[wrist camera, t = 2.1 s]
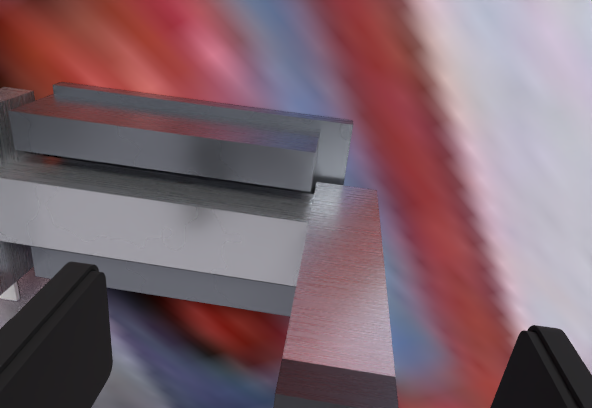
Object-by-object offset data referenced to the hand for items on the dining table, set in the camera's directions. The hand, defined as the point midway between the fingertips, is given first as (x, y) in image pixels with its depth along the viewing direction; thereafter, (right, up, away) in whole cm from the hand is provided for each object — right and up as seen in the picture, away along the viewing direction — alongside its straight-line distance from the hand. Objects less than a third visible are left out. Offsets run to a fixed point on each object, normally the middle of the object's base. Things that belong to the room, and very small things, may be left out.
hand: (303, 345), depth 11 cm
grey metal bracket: (-4, +4, +7) cm, 9 cm away
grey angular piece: (-4, +4, +7) cm, 9 cm away
